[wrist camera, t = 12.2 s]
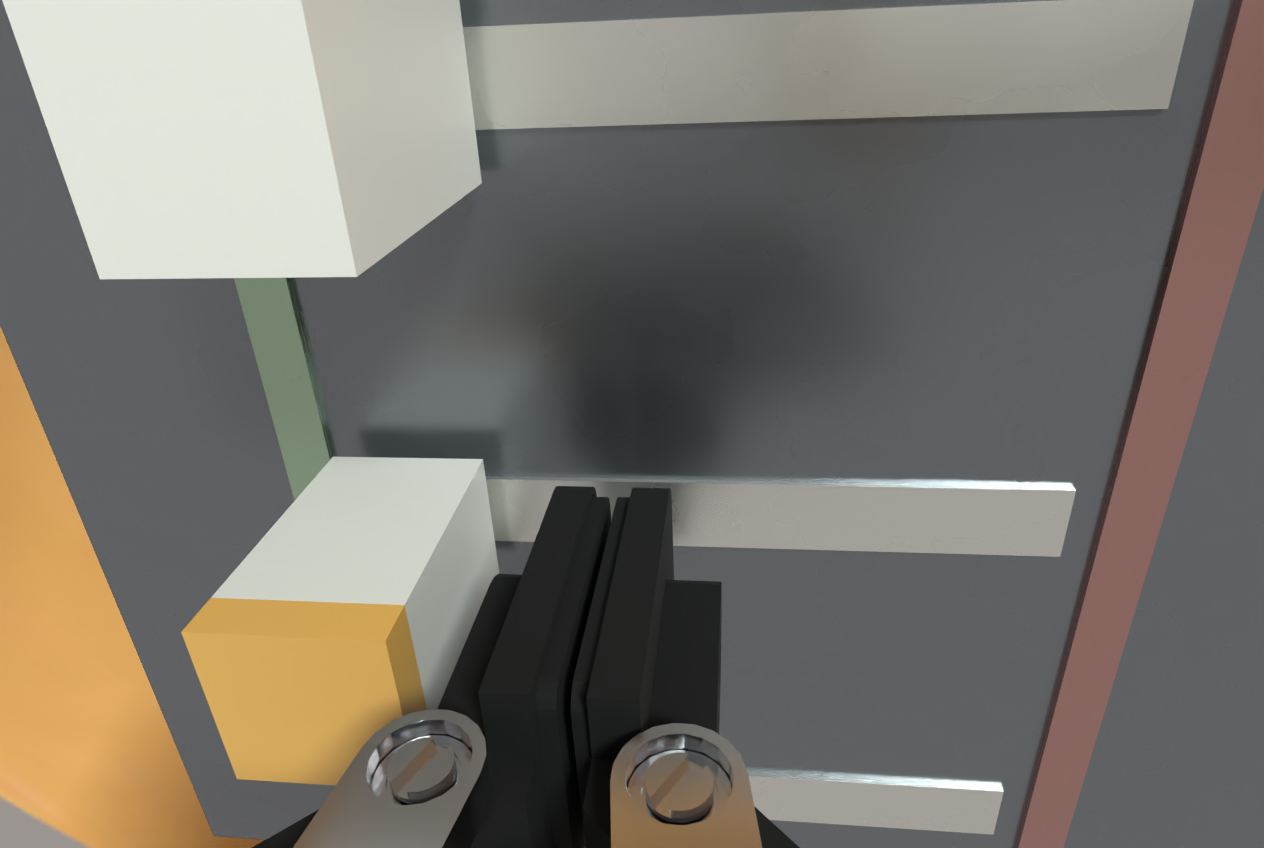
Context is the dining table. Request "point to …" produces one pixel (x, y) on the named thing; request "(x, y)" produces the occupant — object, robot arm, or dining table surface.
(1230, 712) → the panel
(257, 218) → the block
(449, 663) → the block
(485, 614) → the robot arm
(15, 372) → the dining table surface
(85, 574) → the dining table surface
